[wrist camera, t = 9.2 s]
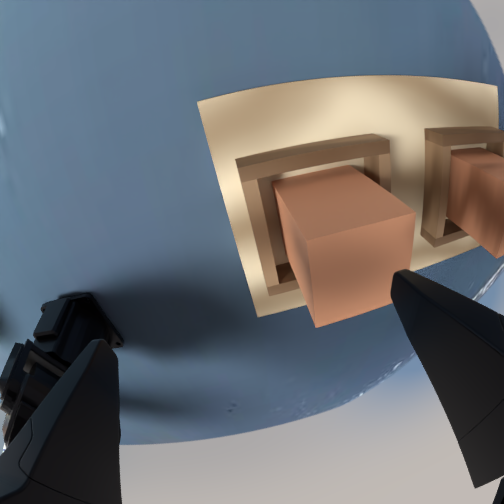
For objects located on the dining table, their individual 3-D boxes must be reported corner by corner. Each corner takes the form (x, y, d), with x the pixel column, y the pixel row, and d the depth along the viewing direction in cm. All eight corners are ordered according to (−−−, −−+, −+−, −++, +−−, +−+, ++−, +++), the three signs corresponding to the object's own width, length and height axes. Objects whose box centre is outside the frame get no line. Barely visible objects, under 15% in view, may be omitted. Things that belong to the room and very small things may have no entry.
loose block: (353, 233, 19) (404, 298, 13) (284, 251, 19) (316, 327, 13) (349, 164, 16) (415, 212, 10) (271, 181, 16) (306, 240, 10)
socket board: (474, 237, 23) (525, 284, 16) (255, 304, 23) (273, 393, 16) (485, 83, 14) (560, 105, 7) (198, 101, 15) (184, 109, 8)
